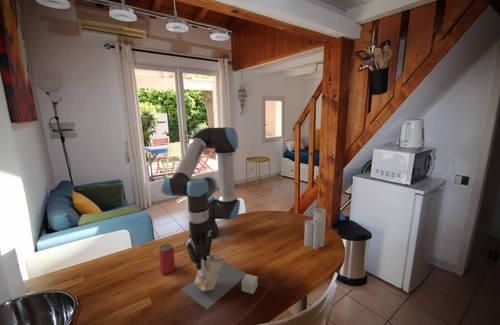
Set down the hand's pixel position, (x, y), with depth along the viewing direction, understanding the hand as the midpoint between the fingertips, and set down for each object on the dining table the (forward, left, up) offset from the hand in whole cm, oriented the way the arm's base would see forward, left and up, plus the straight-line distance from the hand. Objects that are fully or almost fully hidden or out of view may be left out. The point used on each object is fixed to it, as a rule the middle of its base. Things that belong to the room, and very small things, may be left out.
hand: (201, 274), depth 91 cm
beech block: (0, +1, -6) cm, 6 cm away
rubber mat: (0, +7, -8) cm, 11 cm away
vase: (+22, +61, -9) cm, 66 cm away
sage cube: (+14, +13, -9) cm, 21 cm away
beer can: (-24, -1, -9) cm, 25 cm away
